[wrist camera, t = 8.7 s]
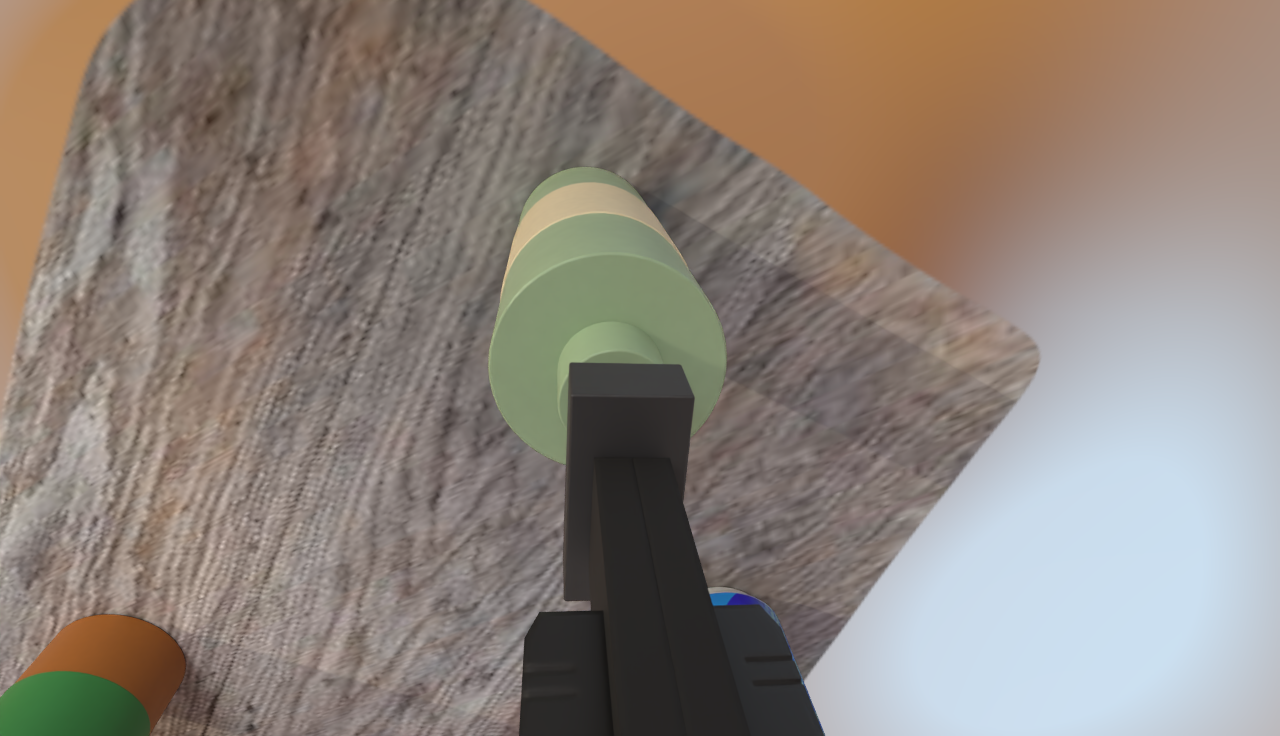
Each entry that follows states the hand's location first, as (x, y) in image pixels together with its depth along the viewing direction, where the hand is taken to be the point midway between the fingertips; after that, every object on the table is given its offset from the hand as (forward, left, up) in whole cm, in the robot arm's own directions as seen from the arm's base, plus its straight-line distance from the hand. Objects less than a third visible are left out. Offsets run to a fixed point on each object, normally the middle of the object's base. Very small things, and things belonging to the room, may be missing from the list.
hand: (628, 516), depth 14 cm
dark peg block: (+1, 0, -3) cm, 3 cm away
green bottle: (-1, 0, -21) cm, 21 cm away
